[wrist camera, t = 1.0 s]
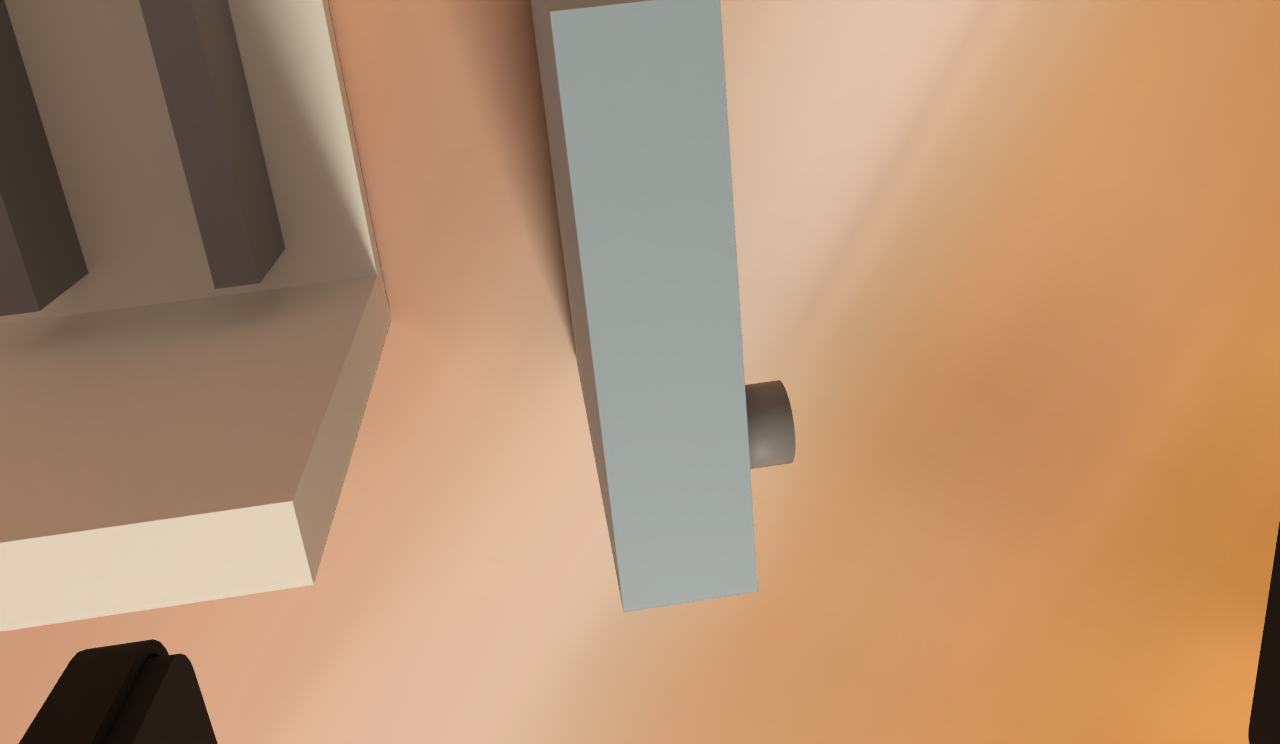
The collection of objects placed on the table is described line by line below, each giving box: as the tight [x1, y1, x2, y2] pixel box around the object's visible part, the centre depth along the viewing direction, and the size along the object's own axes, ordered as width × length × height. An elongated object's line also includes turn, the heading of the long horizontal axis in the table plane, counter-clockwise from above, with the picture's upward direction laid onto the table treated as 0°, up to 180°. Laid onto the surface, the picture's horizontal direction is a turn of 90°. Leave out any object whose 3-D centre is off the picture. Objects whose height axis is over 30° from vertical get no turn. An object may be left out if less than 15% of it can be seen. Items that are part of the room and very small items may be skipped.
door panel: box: [530, 0, 795, 612], centre depth 22 cm, size 4×10×12 cm, turn 6°
